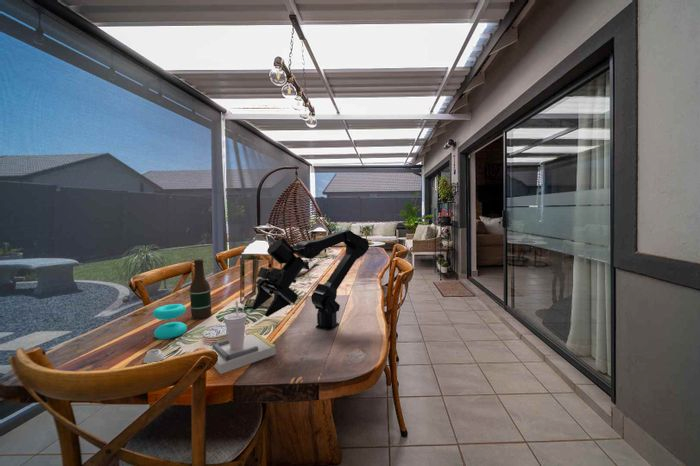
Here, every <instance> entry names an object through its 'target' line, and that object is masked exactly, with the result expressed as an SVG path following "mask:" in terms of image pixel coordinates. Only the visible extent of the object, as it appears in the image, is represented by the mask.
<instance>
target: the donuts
mask: <svg viewBox="0 0 700 466" xmlns="http://www.w3.org/2000/svg"><path fill="white" fill-rule="evenodd" d="M186 310H187V309H186V306H185V305H184V304H183V303H182V304H181V303H171V304H165V305H162V306H159V307H157V308H155V309H154V310H153V311H152V316H153V318H155V319H158V320H161V321H167V320H172V319H176V318H179V317H181V316H182V315H184V313H185V312H186ZM187 329H188V326H187V325H186V324H185V323H184V322H181V321H171V322H167V323H164V324H161V325H159V326H158V327H157V328H155V330H154V332H153V336H154V337H155V338H157V339H159V340H167V339H168V340H169V339H172V338H173V339H174V338H177V337H180V336H182V335H183V334H185V333H186V332H187Z"/></svg>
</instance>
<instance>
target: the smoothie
mask: <svg viewBox="0 0 700 466" xmlns="http://www.w3.org/2000/svg"><path fill="white" fill-rule="evenodd" d="M238 302H239V301H238V300H236V301H235V312H232V313H229V314H226V315H225V316H224V317H223V322H224V323H225V329H226V333H227V339H228V340H229V345H230V349H231V350H240V349H242V348H243V346H244V336H245V333H246V320H247V318H248V317H247V313H245V312H239V303H238Z"/></svg>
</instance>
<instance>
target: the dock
mask: <svg viewBox="0 0 700 466" xmlns="http://www.w3.org/2000/svg"><path fill="white" fill-rule="evenodd" d="M205 349H212V350H215V351H216V352H217V353H218V361H217V363H216V365H215V366H213V367H214V369H215V370H216V371H217V372H218V374H220V375H222V374H225V373H227V372H231V371H233V370H236V369H239V368H242V367H244V366H247V365H250V364H253V363H256V362H258V361H261V360H264V359H266V358H270V357H273V356H275V355H277V352H276V351H277V350H276V349H277V348H276V345H275V344H274V343H272V342H271V341H269V339H266V338H265V337H263V336H262V335H261V334H259V333H258V332H252V333H251V334H248V335H244V346H243V348H242V349H240V350H231V349H230V345H229V340H228V338H227V339H224V340H220V341H217V342H213V343H212V344H211V345H209V346H206V347H204V350H205Z"/></svg>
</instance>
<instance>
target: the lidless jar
mask: <svg viewBox="0 0 700 466" xmlns="http://www.w3.org/2000/svg"><path fill="white" fill-rule="evenodd" d="M164 358H165V354H164V353H163V351H161V350H160V349H159V348H153V349H150V350H148V351H147V352H146V354H145V356H144V358H143V363H144V364H146V363H150V362H155V361H159V362H160V361H162V360H164Z"/></svg>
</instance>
